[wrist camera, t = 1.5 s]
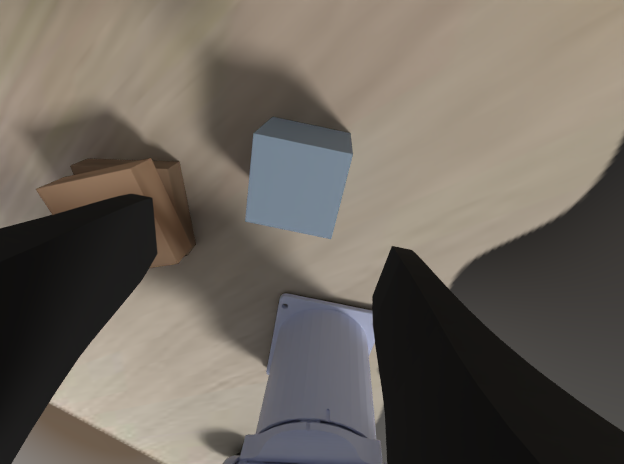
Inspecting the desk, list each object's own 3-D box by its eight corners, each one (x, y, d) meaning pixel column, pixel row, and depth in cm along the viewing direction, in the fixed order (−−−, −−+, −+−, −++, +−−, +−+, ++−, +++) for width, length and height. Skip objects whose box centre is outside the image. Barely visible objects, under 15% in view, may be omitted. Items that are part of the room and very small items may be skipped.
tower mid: (191, 246, 21) (177, 263, 19) (113, 259, 22) (93, 276, 20) (151, 158, 18) (130, 168, 16) (63, 177, 19) (35, 189, 17)
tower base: (198, 240, 23) (186, 255, 21) (120, 236, 23) (102, 251, 22) (182, 159, 20) (167, 169, 18) (93, 156, 20) (70, 165, 19)
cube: (333, 203, 20) (331, 239, 16) (264, 189, 20) (245, 221, 16) (350, 132, 18) (352, 154, 14) (273, 116, 18) (253, 133, 14)
